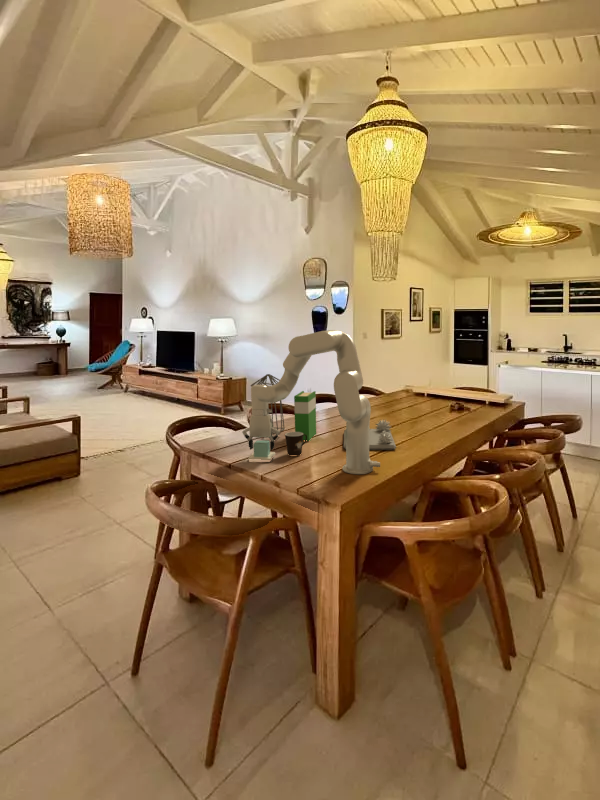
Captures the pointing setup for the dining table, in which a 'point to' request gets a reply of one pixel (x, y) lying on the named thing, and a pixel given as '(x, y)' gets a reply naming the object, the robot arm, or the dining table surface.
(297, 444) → the coffee mug
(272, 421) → the geometric lantern
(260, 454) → the block
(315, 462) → the dining table surface
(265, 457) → the coaster
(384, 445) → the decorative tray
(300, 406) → the hardback book
